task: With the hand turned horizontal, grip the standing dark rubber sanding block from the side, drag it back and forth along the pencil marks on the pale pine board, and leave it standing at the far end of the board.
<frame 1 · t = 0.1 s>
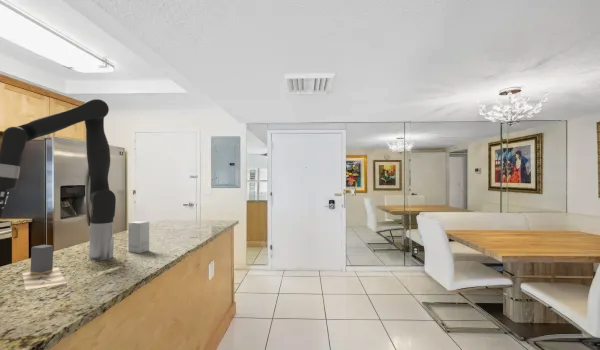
sanding block: (41, 271, 119), point 1 cm above the counter, touching pine board
pine board: (43, 280, 113), on the counter
skincare box: (138, 251, 160), on the counter
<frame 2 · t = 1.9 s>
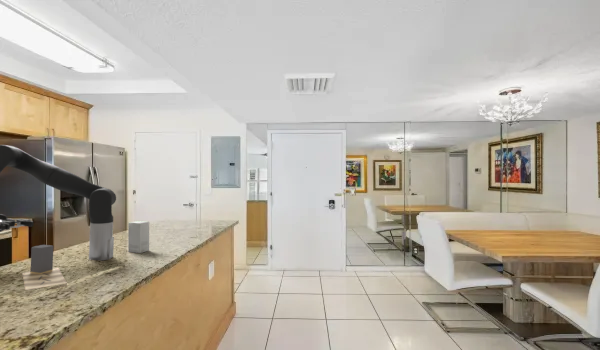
hand: (21, 225, 122), 19 cm above the counter, tool horizontal, fingers open, 8 cm apart
nothing on the counter moved.
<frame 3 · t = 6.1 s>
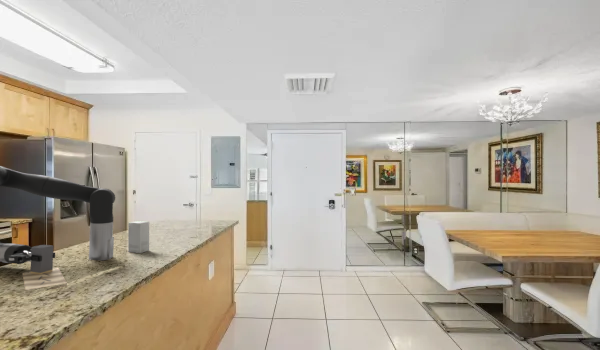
hand: (47, 257, 119), 7 cm above the counter, tool horizontal, fingers closed on sanding block, 4 cm apart
sanding block: (41, 271, 119), point 1 cm above the counter, touching gripper, pine board
everything else where it was.
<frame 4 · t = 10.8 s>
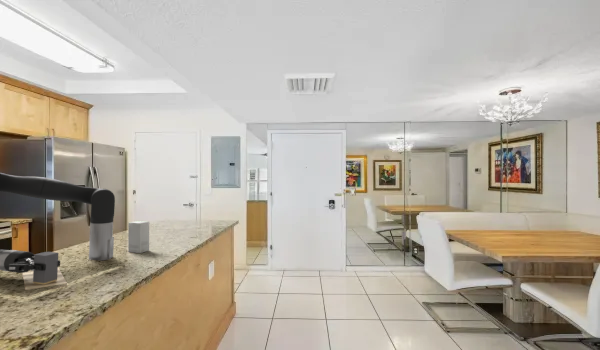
hand: (52, 265, 108), 7 cm above the counter, tool horizontal, fingers closed on sanding block, 4 cm apart
sanding block: (45, 281, 108), point 1 cm above the counter, touching gripper
everything else where it was.
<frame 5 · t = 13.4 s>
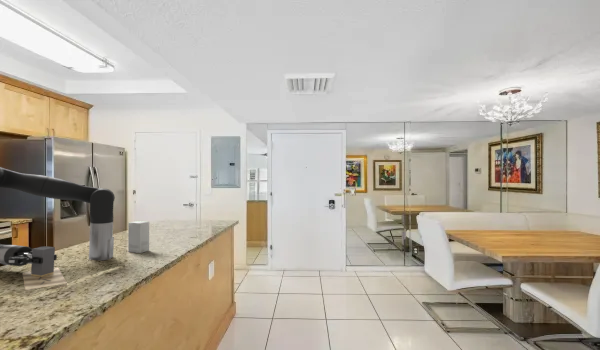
hand: (48, 259, 115), 7 cm above the counter, tool horizontal, fingers closed on sanding block, 4 cm apart
sanding block: (42, 274, 116), point 1 cm above the counter, touching gripper
everything else where it was.
when the fingers open (7 cm above the counter, at t = 15.6 s): sanding block stays where it is, resting on pine board.
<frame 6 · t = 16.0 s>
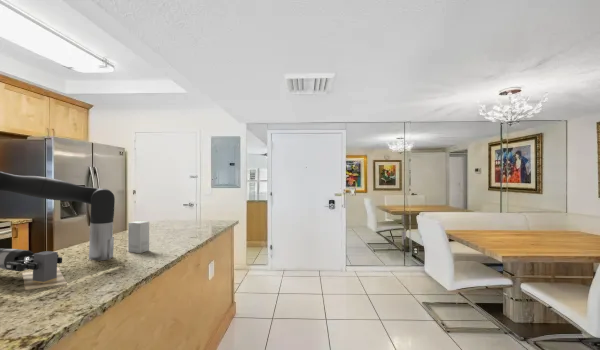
hand: (49, 263, 109), 8 cm above the counter, tool horizontal, fingers open, 8 cm apart
sanding block: (44, 280, 110), point 1 cm above the counter, touching pine board
everything else where it was.
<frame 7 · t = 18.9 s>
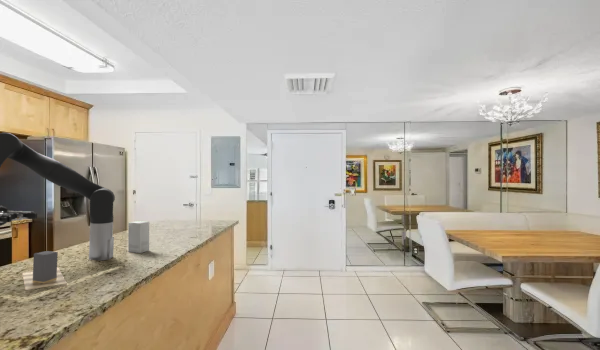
hand: (23, 217, 112), 23 cm above the counter, tool horizontal, fingers open, 8 cm apart
nothing on the counter moved.
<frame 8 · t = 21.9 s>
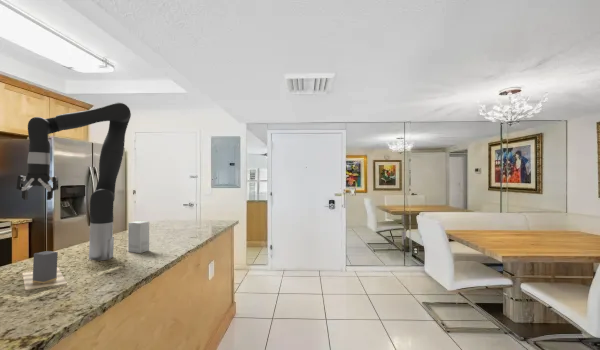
hand: (37, 199, 134), 28 cm above the counter, tool pointing down, fingers open, 8 cm apart
nothing on the counter moved.
at the end: sanding block inside the target area (0.1 cm from its centre), point 1.3 cm above the counter; sanding block tilted 0°; sanding block moved 13.4 cm from its start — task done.
